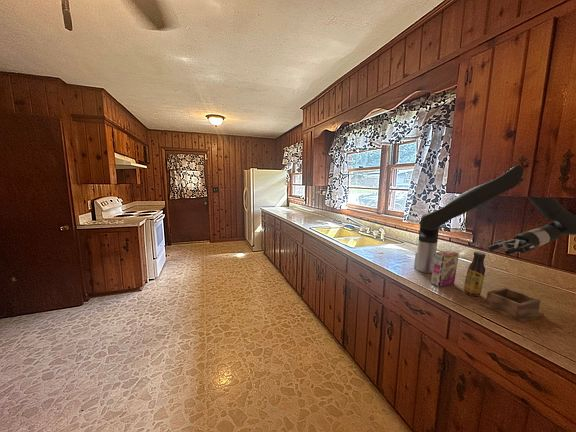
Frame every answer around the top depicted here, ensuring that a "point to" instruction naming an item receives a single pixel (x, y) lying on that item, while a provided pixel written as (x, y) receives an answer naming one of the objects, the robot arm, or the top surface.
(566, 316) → the top surface
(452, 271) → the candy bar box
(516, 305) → the walnut caddy
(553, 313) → the top surface
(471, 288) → the sauce bottle
